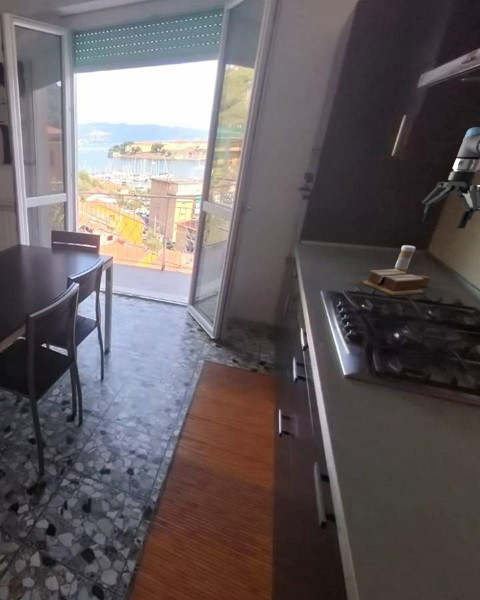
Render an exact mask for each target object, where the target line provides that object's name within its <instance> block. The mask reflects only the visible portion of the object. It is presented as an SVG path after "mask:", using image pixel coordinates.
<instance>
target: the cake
mask: <svg viewBox="0 0 480 600" xmlns="http://www.w3.org/2000/svg"><path fill="white" fill-rule="evenodd" d="M382 276H386V278H385V281H384V283H379V281H380V279H381V277H382ZM418 276H419V275H418ZM418 276H415V274H407V271H406V272H403V271H400V270H397V269H394V268H390V269H374V270H373V269H372V270H370V273H369V275H368V279H367V280H362V283H363V285H367V286H369V287H372V288H374V289H376V290H379V291H381V292H384V293H386V294H390V295H391V296H398V295H413V294H423V293H424V290H422V289H421V287H422V286H421V284H422V281H423V279H424V278H421V277H418Z"/></svg>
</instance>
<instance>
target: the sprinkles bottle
mask: <svg viewBox="0 0 480 600" xmlns="http://www.w3.org/2000/svg"><path fill="white" fill-rule="evenodd" d="M400 249H401V250H400V252H399V255H398V258H397V261H396V262H395V265H394V268H393V269H397V270H400V271H403V272H406V273H407V270H408V268H409V265H410V262H411V260H412V257H413V254H414V252H415V251H416V246H414V245H408V244H405V245H402V246H401V248H400Z"/></svg>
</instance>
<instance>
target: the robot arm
mask: <svg viewBox="0 0 480 600" xmlns="http://www.w3.org/2000/svg"><path fill="white" fill-rule="evenodd" d="M479 170H480V126H479V127H478V126H477V127H475V126H474V127H471V128H469V129H468V130H467V131H466V133H465V135H464V138H463V139H462V143H461V145H460V148H459V150H458V153H457V155H456V159H455V161H454V163H453V166H452V170H451V171H450V173H449V175H448V178H447V180H448V181H447V182H446V181H439V182H438V183H437V185H436V186H435V188H434V189H432V191H431V192H430V193H429V194H427V196H426V197H425V198H424V199H423V200H422V201H421V203H422V204H424V205H425V209H424V211H423V213H424V215H423V218H422V221H421V222H425V223H426V222H428V223H429V222H430V221H431V218H432V216H433V213H434V210H435V208H436V204H437V203H439V202H440V201H442V200H443V199H445V198H446V197H448V196H457V197H459V198H460V199H461V201H462V203H463V205H464V207H465V211H463V213H462V215H461V217H460V219H459V222H458V225H457V227H456V229H465V228H466V226H467V224H468V222H469V221H471V220H472V218H473V215H474V213H476V212H480V184H474V185H473V183H474V182H475V181H476V178H477V176H478V171H479ZM444 188H445V189H444Z"/></svg>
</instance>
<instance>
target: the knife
mask: <svg viewBox="0 0 480 600" xmlns="http://www.w3.org/2000/svg"><path fill="white" fill-rule="evenodd" d="M414 275H415V274H414ZM415 276H418V277H421V278H424V279H423V281H422V284H421V286H420V287H427V286H428V285H429V283H430V281H431V277H429V276H427V275H417V274H416V275H415ZM385 278H386V276H382V277H381V279H380V281H379V283H384V281H385Z"/></svg>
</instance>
